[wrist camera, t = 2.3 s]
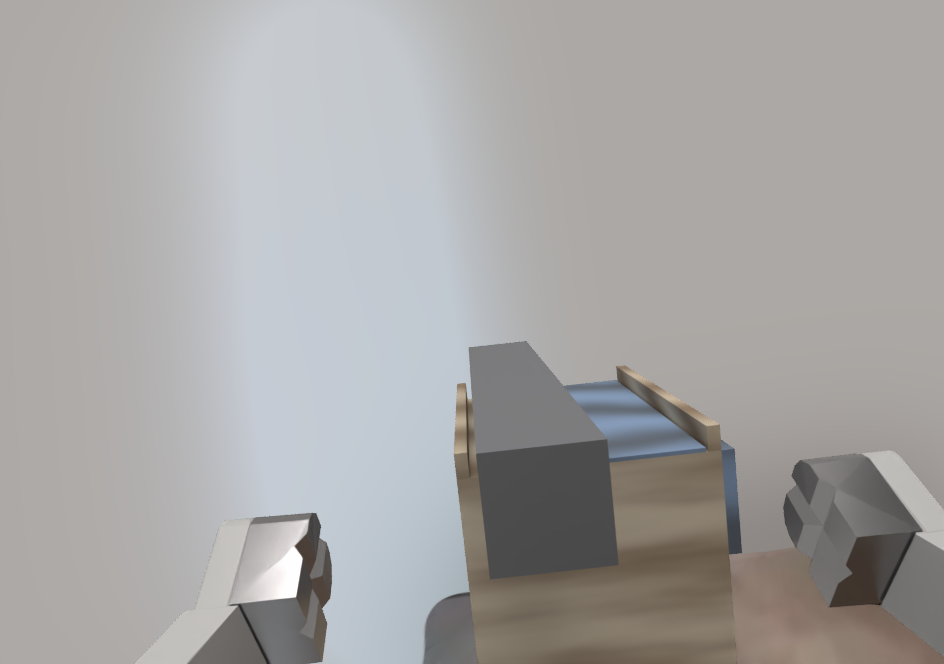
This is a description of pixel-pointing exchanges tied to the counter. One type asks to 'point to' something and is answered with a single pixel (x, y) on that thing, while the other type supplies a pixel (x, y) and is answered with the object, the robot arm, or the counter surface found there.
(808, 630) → the counter surface
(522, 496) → the dark gray block
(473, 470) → the duct stand
